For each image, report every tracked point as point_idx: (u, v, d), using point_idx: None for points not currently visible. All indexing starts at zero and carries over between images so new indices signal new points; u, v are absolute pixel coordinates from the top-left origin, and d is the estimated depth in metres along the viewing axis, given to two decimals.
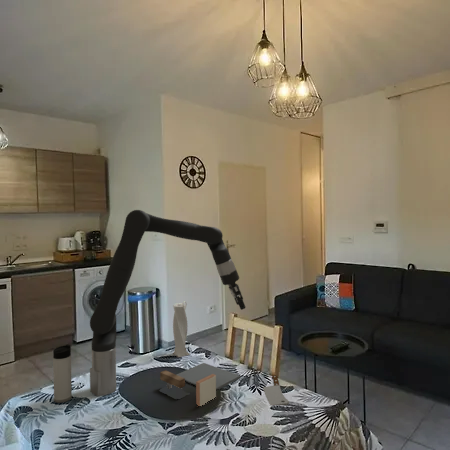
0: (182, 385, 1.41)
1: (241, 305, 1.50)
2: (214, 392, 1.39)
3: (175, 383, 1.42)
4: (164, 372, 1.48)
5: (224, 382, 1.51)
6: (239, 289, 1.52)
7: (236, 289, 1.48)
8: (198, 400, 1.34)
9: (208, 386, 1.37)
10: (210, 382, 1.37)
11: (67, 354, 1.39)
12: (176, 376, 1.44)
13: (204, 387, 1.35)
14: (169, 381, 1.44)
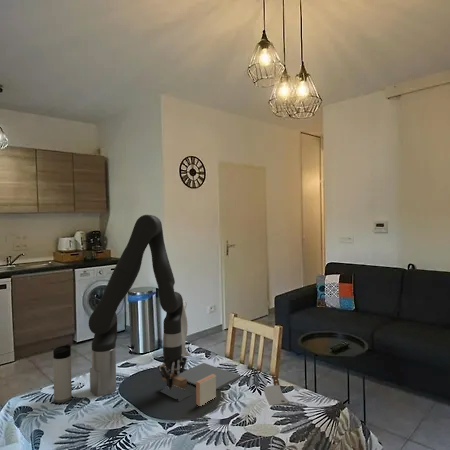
0: (184, 385, 1.41)
1: (167, 383, 1.43)
2: (214, 392, 1.39)
3: (177, 384, 1.41)
4: None
5: (224, 382, 1.51)
6: (171, 368, 1.42)
7: (160, 369, 1.40)
8: (198, 400, 1.34)
9: (208, 386, 1.37)
10: (210, 382, 1.37)
11: (67, 354, 1.39)
12: (178, 376, 1.43)
13: (204, 387, 1.35)
14: None
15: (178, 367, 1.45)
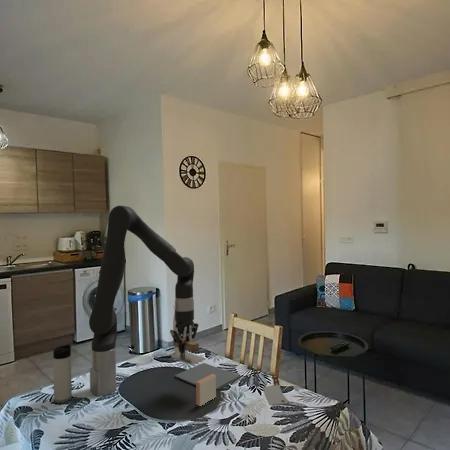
0: (196, 350, 1.40)
1: (179, 348, 1.43)
2: (214, 392, 1.39)
3: (189, 348, 1.41)
4: None
5: (224, 382, 1.51)
6: (183, 333, 1.42)
7: (172, 334, 1.40)
8: (198, 400, 1.34)
9: (208, 386, 1.37)
10: (210, 382, 1.37)
11: (67, 354, 1.39)
12: (190, 341, 1.43)
13: (204, 387, 1.35)
14: None
15: (190, 332, 1.44)
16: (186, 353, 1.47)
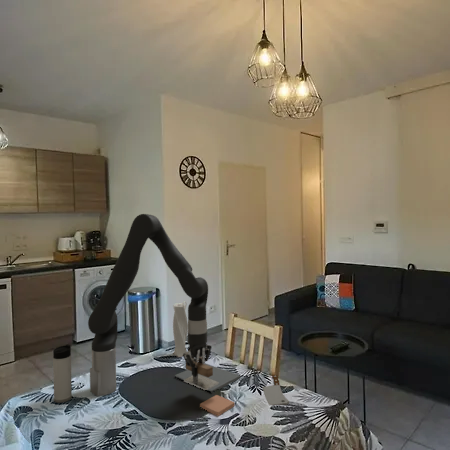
0: (210, 374, 1.36)
1: (192, 372, 1.38)
2: None
3: (202, 372, 1.37)
4: None
5: (224, 382, 1.51)
6: (196, 356, 1.37)
7: (185, 357, 1.35)
8: None
9: None
10: None
11: (67, 354, 1.39)
12: (203, 365, 1.39)
13: None
14: None
15: (203, 355, 1.40)
16: (199, 376, 1.43)
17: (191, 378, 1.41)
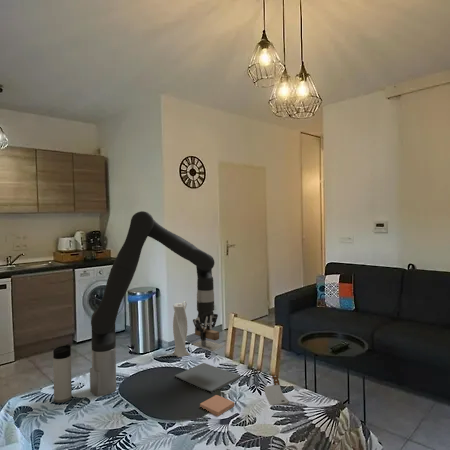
0: (217, 338, 1.53)
1: (201, 336, 1.56)
2: None
3: (210, 336, 1.54)
4: None
5: (224, 382, 1.51)
6: (205, 322, 1.55)
7: (195, 322, 1.53)
8: None
9: None
10: None
11: (67, 354, 1.39)
12: (210, 330, 1.56)
13: None
14: None
15: (210, 322, 1.58)
16: (206, 341, 1.61)
17: (200, 342, 1.59)
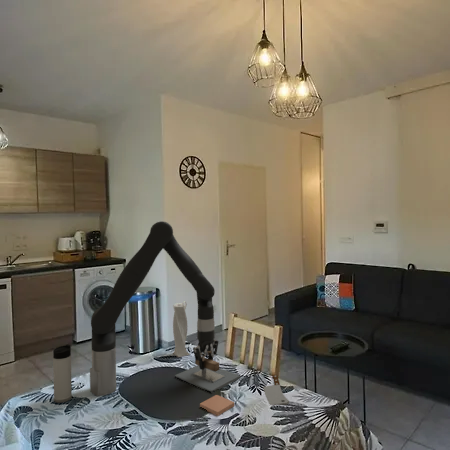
0: (217, 368, 1.54)
1: (200, 365, 1.55)
2: None
3: (210, 367, 1.54)
4: None
5: (224, 382, 1.51)
6: (204, 350, 1.55)
7: (195, 351, 1.53)
8: (204, 408, 1.32)
9: None
10: None
11: (67, 354, 1.39)
12: (211, 361, 1.56)
13: None
14: None
15: (212, 350, 1.58)
16: (207, 371, 1.61)
17: (200, 372, 1.59)
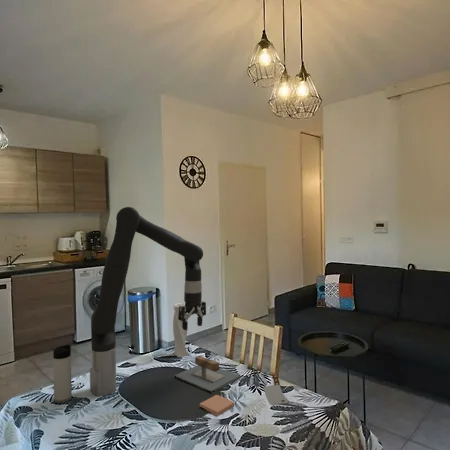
0: (217, 368, 1.54)
1: (182, 325, 1.55)
2: None
3: (210, 367, 1.54)
4: (199, 357, 1.60)
5: (224, 382, 1.51)
6: (190, 311, 1.55)
7: (180, 309, 1.53)
8: (204, 408, 1.32)
9: None
10: None
11: (67, 354, 1.39)
12: (211, 361, 1.56)
13: None
14: (204, 365, 1.57)
15: (199, 311, 1.59)
16: (207, 371, 1.61)
17: (200, 372, 1.59)
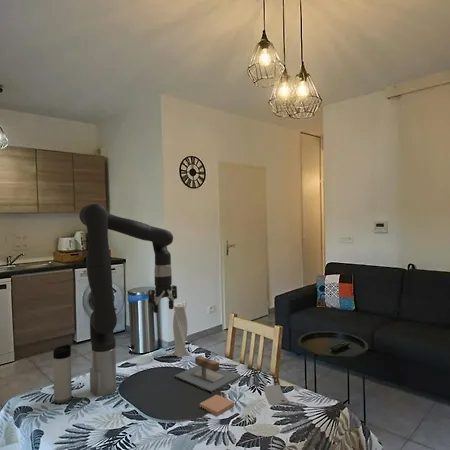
0: (217, 368, 1.54)
1: (153, 308, 1.58)
2: None
3: (210, 367, 1.54)
4: (199, 357, 1.60)
5: (224, 382, 1.51)
6: (160, 295, 1.59)
7: (150, 292, 1.57)
8: (204, 408, 1.32)
9: None
10: None
11: (67, 354, 1.39)
12: (211, 361, 1.56)
13: None
14: (204, 365, 1.57)
15: (170, 295, 1.63)
16: (207, 371, 1.61)
17: (200, 372, 1.59)
